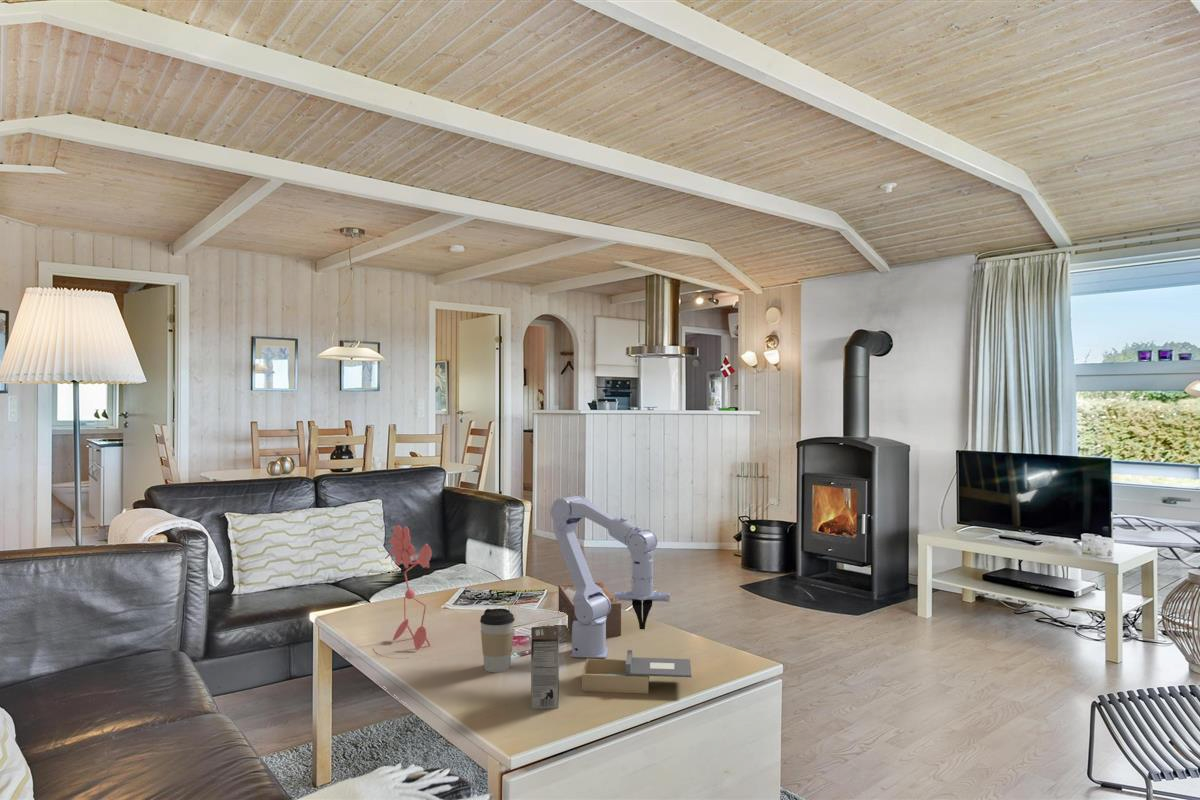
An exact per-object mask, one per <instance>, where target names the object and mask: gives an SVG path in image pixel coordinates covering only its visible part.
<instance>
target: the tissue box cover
mask: <svg viewBox="0 0 1200 800" xmlns="http://www.w3.org/2000/svg"><path fill="white" fill-rule="evenodd" d="M594 583H595V584H596V585H598V586H599V587H601V588H602V590H603V592H604V594H605V595H606V596H607V597H608V599H609V600H610V603H611V610H610V612H609V614H608V615H607V619H606V638H610V637H620V636H622V602H621V601H620V600H619V601H615V594H613V592H611V591H610V589H608V588H607V586H605V585H604V583H603V582H594ZM575 593H576V589H575V586H574V584H573V583H567V584H558V612H559V611H560V612H564V613H566V614H567V615H568V629H569V631H568V632H569V634H570V636H571V637H572V625H573V621H579V620H578V619H577V618H576V615H575V606H574V602H573V598H574V595H575ZM588 598H590V597H588ZM568 629H567V630H568Z"/></svg>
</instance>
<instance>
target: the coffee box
mask: <svg viewBox="0 0 1200 800" xmlns="http://www.w3.org/2000/svg"><path fill="white" fill-rule="evenodd" d="M530 631H531V632H530V634H531V635H530V636H531V638H530V639H531V640H530V652H531V653H530V654H531V655H530V672H531V673H530V674H531V675H530V679H531V680H530V684H531V685H530V687H531V688H530V689H531V693H530V694H531V709H532V710H537V709H538V710H540V709H541V710H542V709H558V708H559V699H560V698H559V690H560V688H559V687H560V683H559V682H560V677H559V676H560V673H559V672H560V637H559V628H558V626H532V627H531V630H530Z"/></svg>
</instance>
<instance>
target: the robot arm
mask: <svg viewBox="0 0 1200 800" xmlns="http://www.w3.org/2000/svg"><path fill="white" fill-rule="evenodd" d="M549 513H550V516H551V518H552V522H553V533H554V535H555V539H556V541H557V544H558V547H559V549H560V552H561V554H562V557H563V559H564V562H565V565H566V567H567V570H568V573H569V575H570V577H571V581H572V584H574V586H575V589H576V593H575V595H574V598H573V602H574V606H575V615H576V618H577V619H578V620H579V621H573V625H572V636H571V657H572V658H586V659H607V656H608V651H609V647H608V646H607V639H606V638H607V637H606V619H607V615H608V614H609V612H610V610H611V603H610V600H609V599H608V597H607V596H606V595H605V594H604V592H603V590H602V588H601V587H599V586H598V585H596V584H595V583H596V582H595V581H594V579H593V576H592V574H591V571H590V569H589V566H588V563H587V560H586V558H585V555H584V553H583V550H582V547H581V545H580V542H579V540H578V538H577V535H576V532H575V531H576V528H577V527H578V526H577V525H578V524H579V523H580V522H581V521H582V519H583V518H586V519H587V520H589V521H591V522H593V523H595V524H597V525H599V526H601V527H603V528H605V529H606V530H607V531H608V535H609V536H610V537H611V538H613V539H615V540H616V541H618V542H620V543H621V544H623V545H625V546H626V547H627V549H628V551H629V553H630V559H631V590H629V591H615V592H614V596H615V601H619V602H620V601H626V602H629V601H631V605H632V606H631V607H632V608H633V611H634V612H635V615H636V618H637V621H638V626H639V630H646V623H647V619H648V616H649V613H650V612H651V609H652V607H653V602H665V603H671V598H670V597H671V594H670V592H660V591H654V551H655V549H656V547H657V545H658V539H657V536H656V534H655V533H654V532H652V530H651V529H642V527H641V526H639V525H637V526H636V525H635V524H633V523H631V522H629V521H628V518H626V517H624V516H623V517H622V516H619V517H616V518H614V517H613V516H612V515H610V514H609V513H607V512H606V511H604V510H602V509H601V508H600V507H598V506H596V505H595V504H593V502H591V500H590V499H589V498H587V497H584V496H583V495H581V494H577V495H572V496H568V497H567V496H566V497H559V498H556V499H555V500H554V501H553V503H552V505H551V508H550V510H549ZM588 597H590V598H588Z"/></svg>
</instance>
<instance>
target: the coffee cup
mask: <svg viewBox="0 0 1200 800" xmlns="http://www.w3.org/2000/svg"><path fill="white" fill-rule="evenodd" d="M514 616H515V615H514V614H513V613H512V612H511V611H510V610H509V609H506V608H492V609H491V608H487V609H485V611H484V612H483V614H482V615H481V616H480V620H479V622H480V628H481V629H480V635H481V647H482V654H483V656H482V657H483V666H484V667H483V668H484V670H485V671H486V672H489V673H502V672H505V671H508V670H509V669H510V668H511V662H512V661H511V660H512V652H513V643H514V630H515V628H514V622H515V620H516V619H515V618H514Z"/></svg>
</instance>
